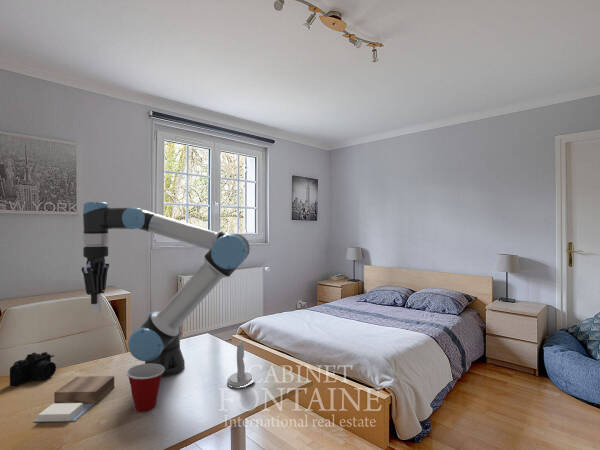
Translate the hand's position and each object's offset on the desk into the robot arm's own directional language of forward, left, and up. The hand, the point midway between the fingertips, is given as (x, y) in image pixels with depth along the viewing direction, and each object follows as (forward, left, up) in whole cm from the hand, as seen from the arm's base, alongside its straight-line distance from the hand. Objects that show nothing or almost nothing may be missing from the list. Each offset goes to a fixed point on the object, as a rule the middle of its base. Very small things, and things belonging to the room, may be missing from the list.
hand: (96, 312), depth 117 cm
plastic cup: (-23, +14, -27) cm, 38 cm away
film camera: (+26, -8, -27) cm, 38 cm away
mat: (0, +16, -26) cm, 31 cm away
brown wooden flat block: (0, +6, -26) cm, 27 cm away
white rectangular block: (0, +18, -24) cm, 30 cm away
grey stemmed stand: (-50, -2, -27) cm, 57 cm away
